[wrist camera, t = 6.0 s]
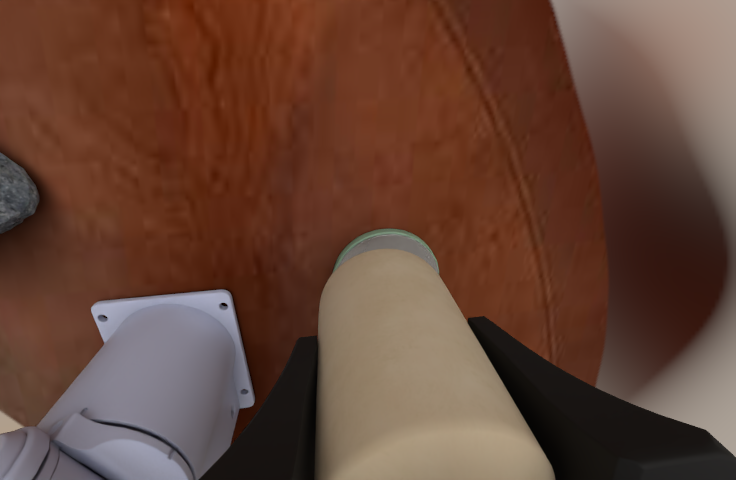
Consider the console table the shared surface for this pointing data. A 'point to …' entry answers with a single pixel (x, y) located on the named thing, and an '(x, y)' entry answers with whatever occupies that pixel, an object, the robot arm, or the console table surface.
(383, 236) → the pale green flat disc
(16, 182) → the stone
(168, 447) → the robot arm
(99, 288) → the console table surface
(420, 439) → the candle
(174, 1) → the console table surface
